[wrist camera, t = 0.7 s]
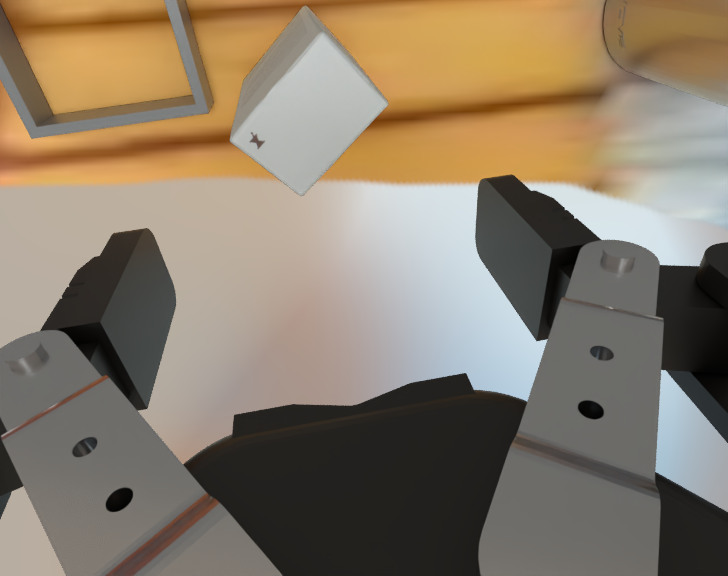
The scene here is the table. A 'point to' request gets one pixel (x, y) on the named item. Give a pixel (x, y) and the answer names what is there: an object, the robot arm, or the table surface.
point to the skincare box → (304, 104)
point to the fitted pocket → (10, 65)
